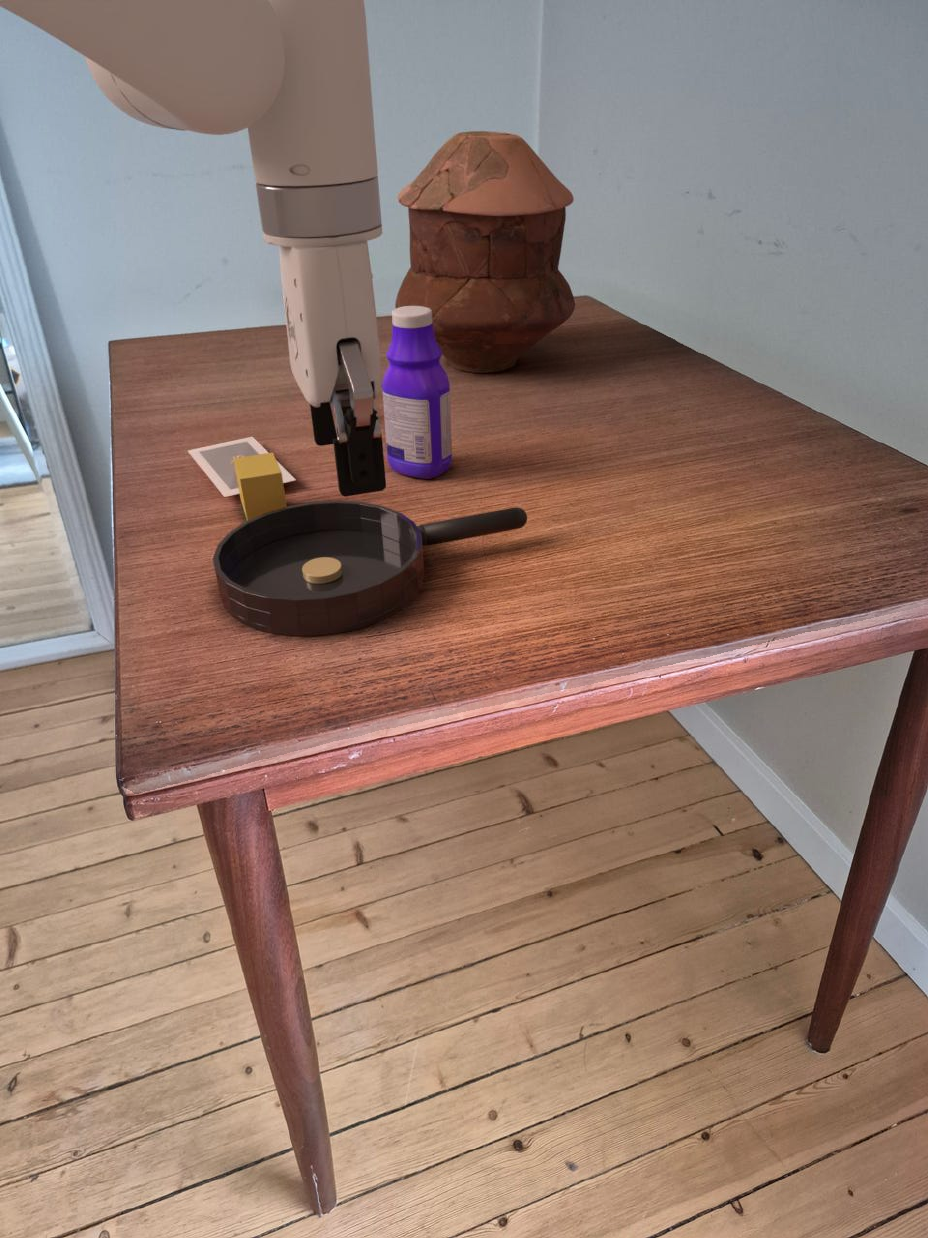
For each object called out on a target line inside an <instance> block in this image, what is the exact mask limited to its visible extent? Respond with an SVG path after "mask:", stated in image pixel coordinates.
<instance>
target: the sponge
mask: <svg viewBox="0 0 928 1238" xmlns="http://www.w3.org/2000/svg"><path fill="white" fill-rule="evenodd" d="M233 460H234V466H235V471H236V477H237V482H238V487H239V493H240V494H239V497H240V502H241V503H240V504H241V509H242V512H243V515H244V518H245V522H246V521H248V520H251V519H253V518H255V517H257V516H260V515H262V514H264V513H267V512H271V511H274V510H277V509H281V508H284V507H288V505H287V498H286V493H285V491H286V490H285V487H284V483H283V478H282V472H281V470H280V468H279V465H278V463H277V461H278V460H277V458H276V456H275V454H274V452H268V453H266V454H259V455H253V456H246V457H240V458H234V459H233ZM276 460H277V461H276Z"/></svg>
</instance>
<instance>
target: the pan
mask: <svg viewBox="0 0 928 1238" xmlns="http://www.w3.org/2000/svg"><path fill="white" fill-rule="evenodd" d="M417 526H418V525H417V524H416V522H415V521H413V520H412V519H410V518H409V517H407V516H406V515H405V514H403V513H401V511H400V512H399V511H397V510H394V509H392V508H389V507H386V506H384V505H378V504H374V503H368V502H365V501H364V502H363V501H351V500H350V501H349V500H326V501H324V500H323V501H313V502H312V501H311V502H306V503H305V502H304V503H299V504H293V505H288V506H287V507H284V508H281V509H277V510H274V511H271V512H267V513H264V514H262V515H260V516H257V517H255V518H253V519H251V520H248V521H246V520H245V521H244V522H242V523H241V524H239V525H238V526H237V527H235V528H233V529H232V530H230V531H229V532H228V533H227V534H226V535H225V536H224V537H223V538H222V539H221V540H220V542H219V543H217V545H216V549H215V551H214V554H213V556H212V563H213V568H214V573H215V576H216V580H217V581H216V582H217V586H218V591H219V595H220V599H221V603H222V605H223V607H224V609H225V610H226V611H227V613H228V614H229V615H230V616H232V618H233V619H235V620H237V621H238V622H240V623H241V624H243V625H245V626H247V627H250V628H251V629H254V630H258V631H261V632H265V633H270V634H273V635H279V636H290V637H292V636H293V637H316V636H317V637H318V636H328V635H336V634H341V633H346V632H351V631H354V630H358V629H362V628H365V627H368V626H371V625H373V624H377V623H378V622H380V621H383V620H385V619H387V618H390V617H391V616H392V615H395V614H396V613H398V612H399V611H401V610H402V609H403V608H405V607H406V606H407V605H408V604H410V603H411V602H412V601H413V600H414V599H415V597H416V596H417V595H418V594H419V592H420V590H421V588H422V587H423V584H424V580H425V564H424V563H425V562H424V546H422V533H421V532H420V530H419V529H418V527H417ZM321 557H330V558H335V559H337V560H339V561H340V562H341V564H342V575H341V577H340V578H338V579H337V580H335V581H333V582H330V583H325V584H314V583H310V582H307V581H306V580H305V579H304V578H303V573H302V567H303V565H304V564H305V563H306V562H308V561H310V560H312V559H315V558H321Z"/></svg>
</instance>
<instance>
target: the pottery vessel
mask: <svg viewBox="0 0 928 1238" xmlns="http://www.w3.org/2000/svg"><path fill="white" fill-rule="evenodd" d="M396 198H397V201H398V203H399V204H400V205H401V206H403V207H405V208H408V209H407V211H408V212H407V213H408V222H409V223H408V225H409V260H410V261H409V262H410V268H409V269H408V270H407V272H406V274H405V276H404V278H403V280H402V282H401V284H400V287H399V289H398V292H397V295H396V299H395V306H394V309H396V308H399V307H404V306H423V307H427V308H430V309H431V310H432V321H433V332H434V336H435V340H436V342H437V344H438V346H439V348H440V349H441V351H442V355H441V356H442V357H444V358H445V359H446V360H447V362H448V363H449V365H450V366H451V367H452V368H453V369H455V370H458V371H462V372H466V373H471V374H472V373H473V374H485V373H497V372H502V371H506V370H508V369H510V368H512V367H514V366H515V365H516V364H517V361H518V358H519V357H521V355H523V354H524V353H525V352H526V351H527V350H529V349H531V348H532V347H533V346H534V345H536V344H537V343H538V342H539V341H541V340H542V339H544V338H545V336H547V335H549V334H550V333H551V332H553V331H554V330H556V329H557V328H559V327H560V326H561V325H563V324H564V323H566V322H567V321H568V320H569V319H570V318H571V316H572V315H573V314H574V311H575V310H576V302H575V297H574V294H573V291H572V289H571V286H570V283H569V282H568V281H567V279H566V278H565V275H563V274H562V272H561V271H560V269H559V265H560V260H561V254H562V246H563V240H564V232H565V225H566V218H567V212H566V211H567V210H566V209H567V208H566V207H569V206H571V205H572V204H573V202H574V200H575V199H574V195H573V193H572V192H571V191H570V189H569V188H568V187H566V185H564V183H562V182H561V181H560V180H559V179H558V178H557V176H556V175H555V174H554V173H553V172H552V171H551V169H549V167H548V166H547V165H546V163H545V162H544V161H543V160H542V159H541V157H539V155H538V154H537V153H536V152H535V150H534V149H533V148H532V147H531V146H530V144H529V143H528V142H527V141H525V139H524V138H522V137H521V136H520V135H517V134H514V133H508V132H498V131H486V130H475V131H474V130H473V131H471V130H470V131H462V132H457V133H455V134H454V135H452V137H450V138H449V139H447V141H446V142H445V143H444V144H443V145H441V146H440V147H439V148H438V150H437V151H436V152H435V153H434V154H433V156H432V157H431V159H430V161H428V163H427V165H426V166H425V167H424V168H423V169H422V171H421V172H420V173H419V174H418V175H417V176H416V177H415V178H414V179H413V180H412V181H411V182H410V183H409V184H407V185H406V186H404V187H403V188H402V189H401V190H400V191H399V192H398V194H397V197H396Z"/></svg>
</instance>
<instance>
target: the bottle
mask: <svg viewBox="0 0 928 1238" xmlns="http://www.w3.org/2000/svg"><path fill="white" fill-rule="evenodd" d="M391 318H392V325H391V326H392V335H391V340H390V344H389V347H388V349H387V351H386V358H387V360H388V361H389V364H388V367H387V368H386V370H385V373H384V375H383V378H382V382H381V390H382V404H383V416H384V428H385V430H384V431H385V441H386V443H385V444H386V457H387V461H388V464H389V467H390V468H391V469H392V470H393V471H394V472H396V473H398V474H400V475H404V476H408V477H412V478H417V479H427V480H429V479H434V478H437V477H439V476H440V475H442V474H444V473H445V472H447V471H448V469H449V468H450V466H451V462H452V458H453V454H452V453H453V443H452V440H453V439H452V411H451V410H452V409H451V407H452V406H451V405H452V404H451V385H450V380H449V377H448V374H447V372H446V370H445V368H444V367H443V365H442V364H441V361H440V360H441V357H442V356H443V355H442V351H441V349H440V348H439V346H438V344H437V342H436V340H435V336H434V332H433V321H432V310H431V309H430V308H427V307H423V306H404V307H399V308H396V309H395V308H394V309H393V310H392V311H391Z"/></svg>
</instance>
